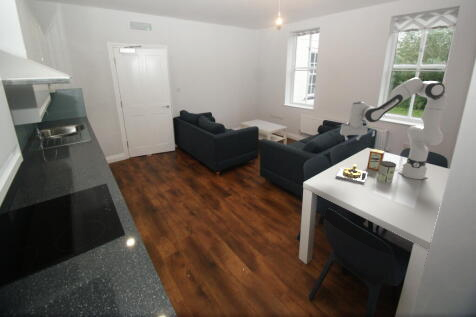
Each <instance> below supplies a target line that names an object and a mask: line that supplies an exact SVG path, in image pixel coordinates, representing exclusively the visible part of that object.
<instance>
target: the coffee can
mask: <svg viewBox="0 0 476 317" xmlns="http://www.w3.org/2000/svg"><path fill="white" fill-rule="evenodd" d="M396 167H397V163H395V162H393V161H388V160H383V161H381V162H380V166H379V171H377V176H376V177H377V178H376V180H377V181H378V182H380V183H384V184H392V183H393V180H394V175H395V171H396Z"/></svg>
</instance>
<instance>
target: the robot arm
mask: <svg viewBox="0 0 476 317" xmlns="http://www.w3.org/2000/svg"><path fill="white" fill-rule="evenodd" d="M445 89H446V87H445V85H444V83H443V82H440V81H434V80H428V81H426V80H424V81H422V79H421V78H419V77H413V78H410V79H408V80H406V81H404V82H402V83H401V84H399V85H396V87H395V88H394V89H392V90H391V91H390V98H389V99H388V100H387V101H386V102H383V103H382V104H381V105H379V106H376V107H375V106H372V105H369V104H367V103H366V102H364V101H355V102H353V103H352V104H351V108H350V112H349V118H348V122H346V123H345V122H343V123H342V124H341V125H340V131H339V134H340V135H341V136H343V137H344V140H345V141H348V140H349V138H348V136H357V137H356V139H355V140H356V141H360V139H361V137H362V136H364V135H365V136H366V135H367V134H368V129H369V127H368V125H369V123H368V122H370V123H376V122H378V121H379V120H381V118H383V116H384V115H385V114H387V113H389V112H390V111H391V110H392V109H394V108H395V107H398V105H400V104H401V103H402V102H404V101H405V100H407V99H409V98H411V96H414V95H416V96H418V97H422V98H425V99H426V100H427V101H426V104H425V107H424V110H423V112H422V114H421V120H422V123H423V126H422V125H410V126H409V128H407V130H406V135H407V137H408V138H409V142H410V148H409V154H408V157H407V158H406V162H405V163H402V167H401V168H400V169H399V170H398V174H399V175H402V176H404V177H405V178H409V179H414V180H422V179H428V178H429V177H428V175H427V170H428V167H427V166H426V165H427V161H428V160H427V159H428V156H429V148H428V147H427V145H431V146H437V145H439V144H441V142H443V139H444V134H443V132H442V131H441V119H442V117H443V114H444V112H445V109H446V106H447V103H448V98H449V96H448V95H447V93H446V91H445ZM363 119H365V120H366V121H367V122H366V121H363Z"/></svg>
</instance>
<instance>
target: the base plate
mask: <svg viewBox="0 0 476 317" xmlns="http://www.w3.org/2000/svg"><path fill="white" fill-rule="evenodd" d="M345 168H346V167H343V166H341V167H340V169H339V170H338V172H337V174H336V175H335V179H338V180H344V181H349V182H353V183H357V184H362V185H364V184H365V183H366V181H367V180H366V179H367V176H368V175H369V172H368V171H365V170H364V171H363V170H361V171H362V175H361V176H360V177H351V176H348V175H345V174H344V173H343V170H344V169H345ZM349 172H353V173H356V170H354V169H350V170H349Z"/></svg>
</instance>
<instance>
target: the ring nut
mask: <svg viewBox="0 0 476 317" xmlns="http://www.w3.org/2000/svg"><path fill="white" fill-rule="evenodd" d="M357 166H358V164H356V163H354V164H353V166H352V167H344V168H345V169H344V170H343V173H344V174H345V175H348V176H351V177H360V176H361V175H362V171H363V170H360V169H358V168H357ZM350 169H354V170H356V173H353V172H349V170H350Z"/></svg>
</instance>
